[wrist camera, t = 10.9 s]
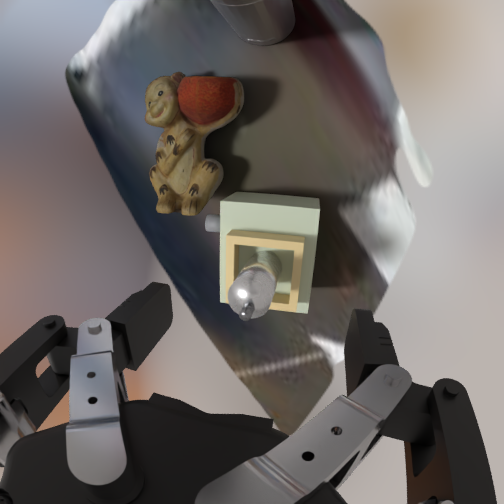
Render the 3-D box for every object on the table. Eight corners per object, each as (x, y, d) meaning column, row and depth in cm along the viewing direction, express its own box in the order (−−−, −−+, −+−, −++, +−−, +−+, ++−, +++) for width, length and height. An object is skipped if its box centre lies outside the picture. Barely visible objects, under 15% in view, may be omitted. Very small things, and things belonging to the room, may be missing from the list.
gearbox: (217, 190, 44) (189, 203, 35) (319, 198, 42) (320, 213, 32) (216, 277, 49) (193, 309, 39) (309, 288, 47) (306, 325, 37)
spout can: (247, 249, 38) (221, 282, 28) (282, 251, 37) (268, 287, 27) (247, 281, 39) (223, 323, 29) (281, 284, 38) (267, 328, 28)
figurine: (135, 215, 40) (126, 73, 32) (162, 200, 48) (156, 80, 40) (239, 216, 37) (236, 56, 29) (251, 200, 45) (248, 70, 38)
